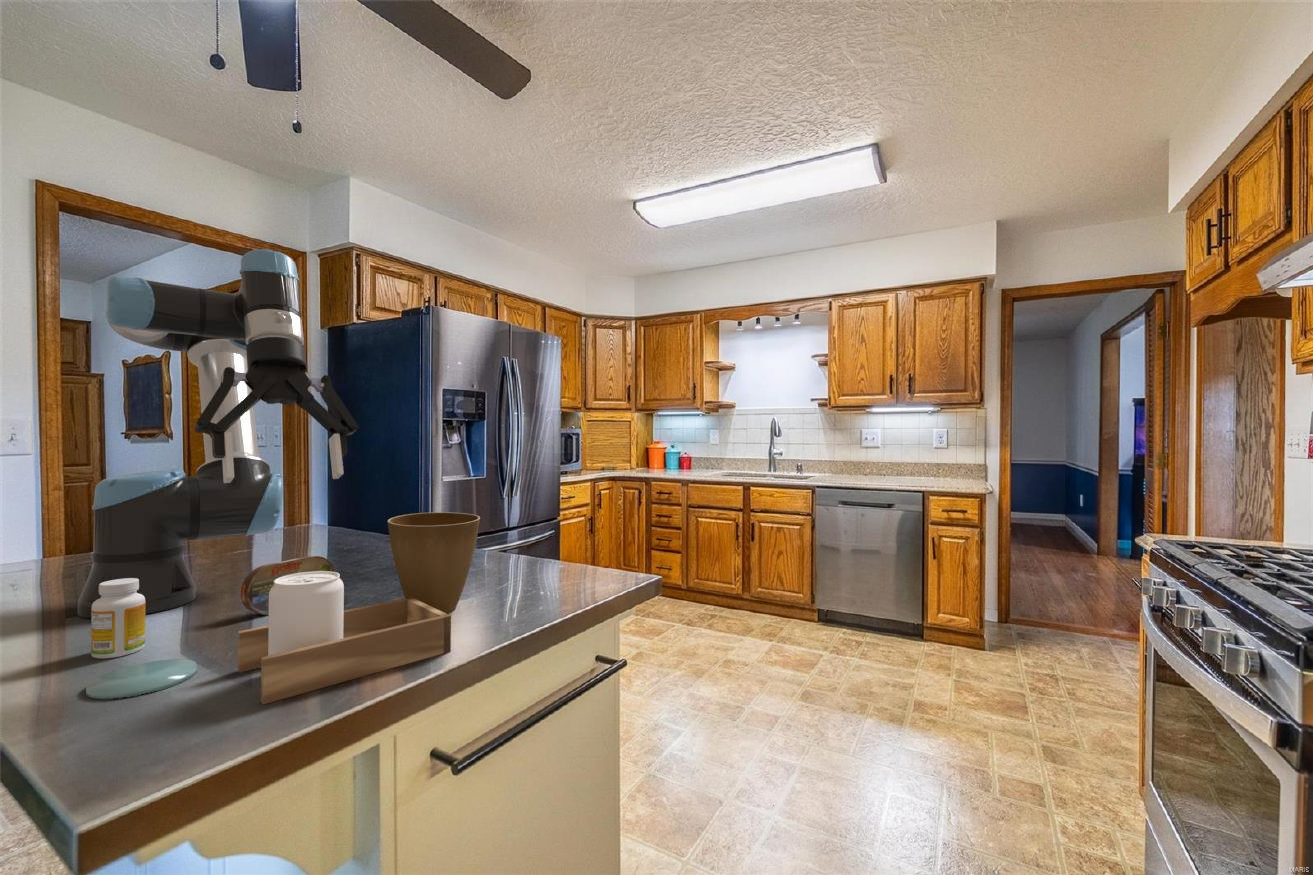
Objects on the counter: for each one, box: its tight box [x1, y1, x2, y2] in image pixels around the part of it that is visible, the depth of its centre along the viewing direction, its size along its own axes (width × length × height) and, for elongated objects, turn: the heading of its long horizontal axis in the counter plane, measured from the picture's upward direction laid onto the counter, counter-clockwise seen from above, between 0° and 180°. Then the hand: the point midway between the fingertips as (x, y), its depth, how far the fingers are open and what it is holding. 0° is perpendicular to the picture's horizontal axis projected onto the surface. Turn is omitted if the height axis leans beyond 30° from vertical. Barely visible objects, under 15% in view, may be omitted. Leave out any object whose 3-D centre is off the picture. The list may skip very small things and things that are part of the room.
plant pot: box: [387, 511, 481, 614], centre depth 98 cm, size 15×15×16 cm
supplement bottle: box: [90, 578, 146, 660], centre depth 78 cm, size 5×5×10 cm
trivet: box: [85, 658, 198, 700], centre depth 69 cm, size 10×10×1 cm
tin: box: [240, 555, 336, 616], centre depth 98 cm, size 15×3×8 cm, turn 155°
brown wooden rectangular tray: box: [237, 597, 452, 705], centre depth 75 cm, size 13×22×5 cm, turn 137°
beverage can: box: [268, 571, 345, 656], centre depth 72 cm, size 8×8×12 cm
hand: (286, 478), depth 82 cm, fingers open, 13 cm apart
